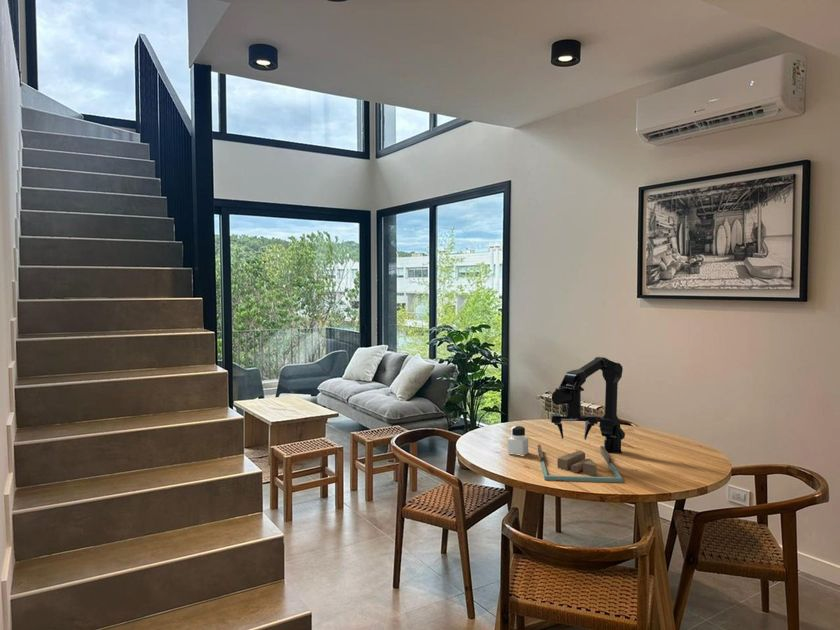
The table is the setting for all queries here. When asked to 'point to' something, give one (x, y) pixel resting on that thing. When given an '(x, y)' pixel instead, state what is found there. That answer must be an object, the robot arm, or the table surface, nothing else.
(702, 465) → the table surface
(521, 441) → the medicine bottle
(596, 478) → the frame
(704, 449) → the table surface
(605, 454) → the pair of brown bars
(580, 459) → the wooden block set
